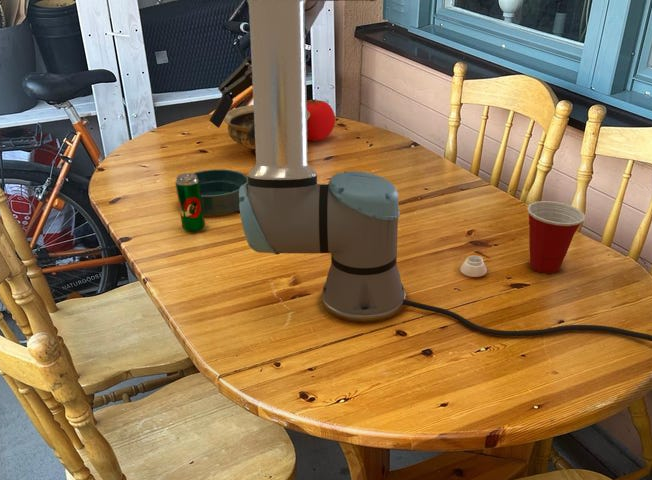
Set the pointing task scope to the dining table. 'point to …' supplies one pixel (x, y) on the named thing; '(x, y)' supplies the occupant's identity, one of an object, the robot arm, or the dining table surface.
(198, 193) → the soda can
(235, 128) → the ceramic bowl
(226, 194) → the glazed bowl
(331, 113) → the tomato
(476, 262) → the lidless jar
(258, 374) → the dining table surface
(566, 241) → the plastic cup
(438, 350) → the dining table surface
